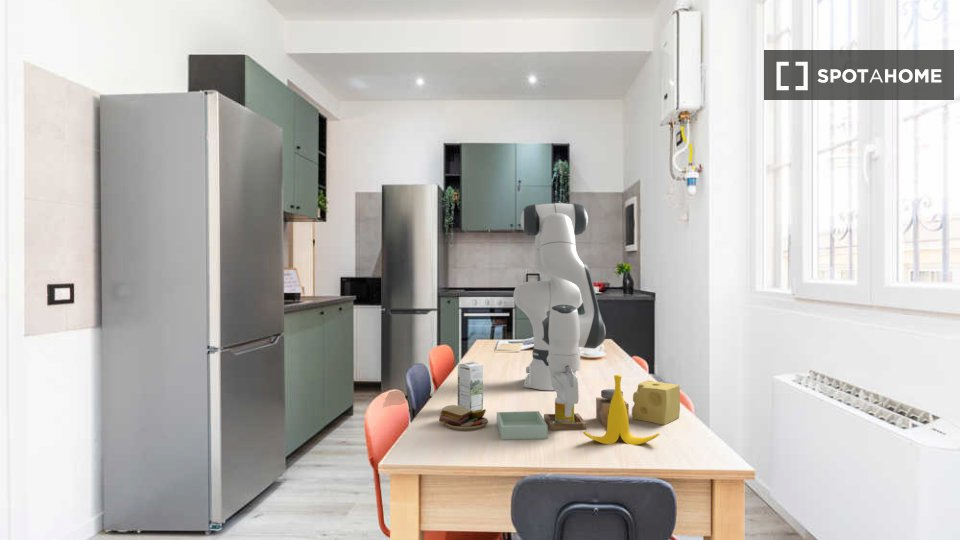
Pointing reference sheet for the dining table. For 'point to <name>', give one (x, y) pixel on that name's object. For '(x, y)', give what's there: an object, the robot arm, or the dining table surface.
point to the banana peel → (619, 421)
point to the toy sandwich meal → (462, 418)
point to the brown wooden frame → (565, 426)
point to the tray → (521, 425)
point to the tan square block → (606, 406)
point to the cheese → (656, 402)
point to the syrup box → (470, 386)
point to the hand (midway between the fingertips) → (564, 412)
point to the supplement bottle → (562, 411)
